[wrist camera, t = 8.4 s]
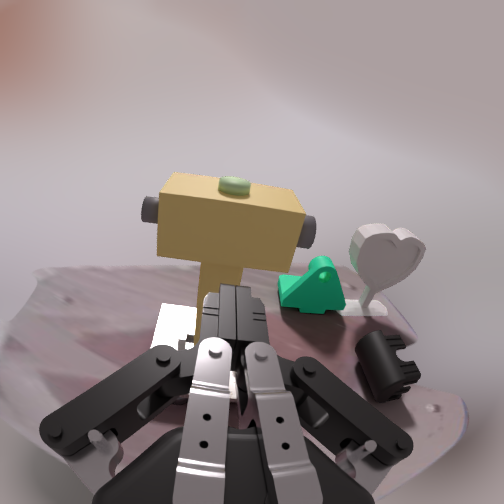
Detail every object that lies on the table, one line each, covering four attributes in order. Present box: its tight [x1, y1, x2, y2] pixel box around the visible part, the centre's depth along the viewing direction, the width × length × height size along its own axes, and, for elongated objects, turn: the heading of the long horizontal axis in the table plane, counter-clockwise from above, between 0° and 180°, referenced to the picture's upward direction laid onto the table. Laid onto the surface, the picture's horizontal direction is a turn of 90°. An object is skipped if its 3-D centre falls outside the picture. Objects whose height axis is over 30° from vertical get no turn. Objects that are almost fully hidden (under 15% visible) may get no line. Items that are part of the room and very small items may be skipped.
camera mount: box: [278, 256, 346, 314], centre depth 51 cm, size 12×8×10 cm, turn 91°
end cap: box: [355, 330, 421, 403], centre depth 37 cm, size 10×7×7 cm
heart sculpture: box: [336, 223, 426, 316], centre depth 50 cm, size 16×5×18 cm, turn 96°
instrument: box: [141, 172, 316, 346], centre depth 29 cm, size 16×6×20 cm, turn 94°
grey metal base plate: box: [151, 304, 237, 405], centre depth 35 cm, size 15×15×6 cm
